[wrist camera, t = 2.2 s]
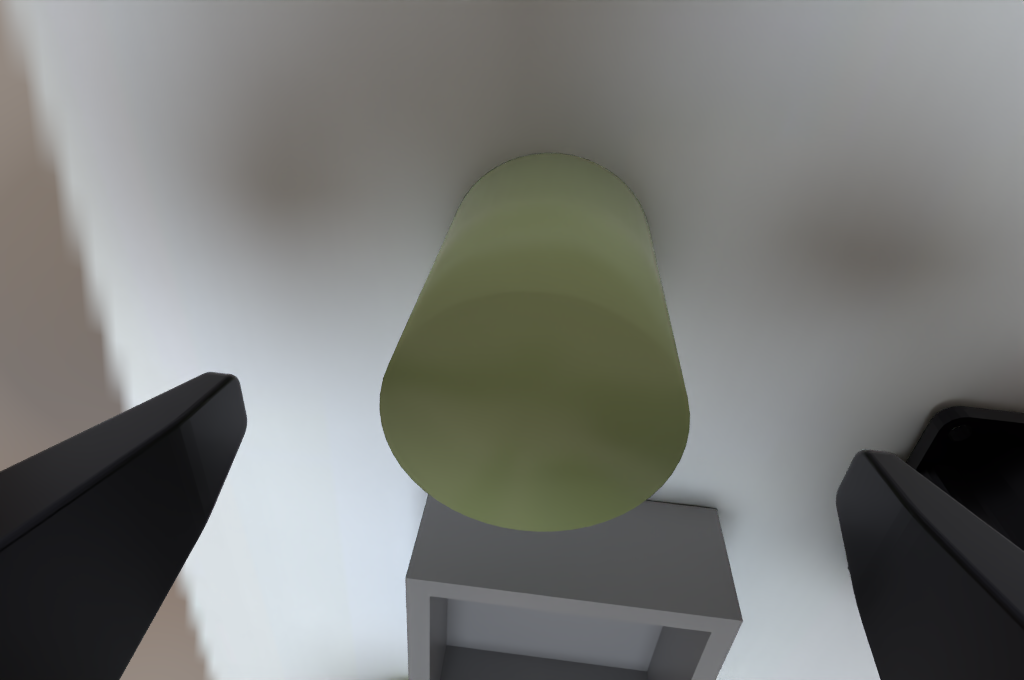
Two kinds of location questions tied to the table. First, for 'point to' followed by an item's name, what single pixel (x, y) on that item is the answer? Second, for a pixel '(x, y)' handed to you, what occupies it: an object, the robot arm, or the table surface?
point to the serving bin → (571, 598)
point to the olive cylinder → (540, 355)
